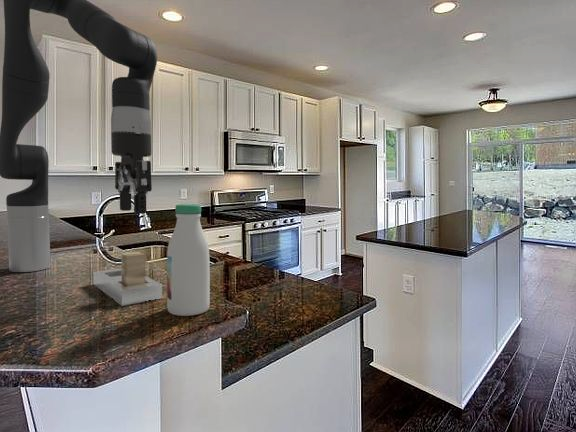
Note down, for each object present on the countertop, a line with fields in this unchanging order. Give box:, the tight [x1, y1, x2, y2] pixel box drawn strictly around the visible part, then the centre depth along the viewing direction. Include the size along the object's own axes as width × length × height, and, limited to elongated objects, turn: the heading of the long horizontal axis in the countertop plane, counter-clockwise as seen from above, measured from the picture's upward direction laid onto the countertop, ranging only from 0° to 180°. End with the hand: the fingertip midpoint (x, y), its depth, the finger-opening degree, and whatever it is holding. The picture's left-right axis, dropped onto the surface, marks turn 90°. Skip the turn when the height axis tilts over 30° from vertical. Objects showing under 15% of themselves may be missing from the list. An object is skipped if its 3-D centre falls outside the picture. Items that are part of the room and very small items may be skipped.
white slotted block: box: [93, 267, 163, 307], centre depth 83 cm, size 20×8×3 cm, turn 41°
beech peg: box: [120, 251, 146, 287], centre depth 79 cm, size 4×4×9 cm
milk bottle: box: [166, 203, 211, 317], centre depth 70 cm, size 8×8×20 cm
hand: (132, 211), depth 78 cm, fingers open, 8 cm apart
